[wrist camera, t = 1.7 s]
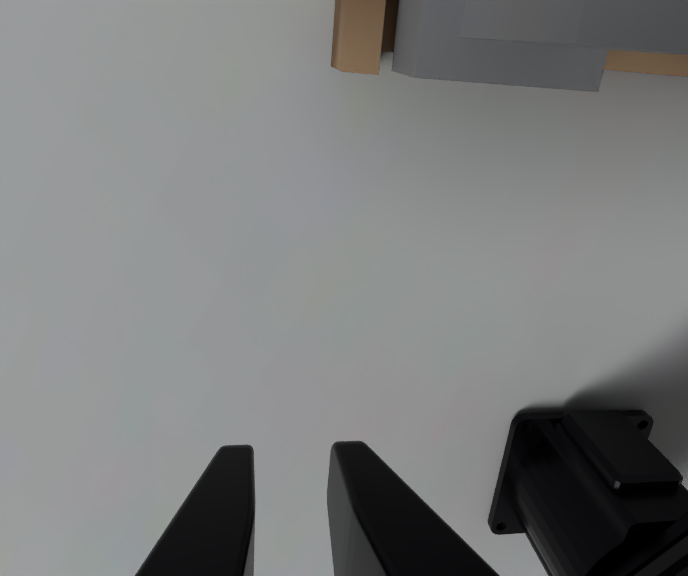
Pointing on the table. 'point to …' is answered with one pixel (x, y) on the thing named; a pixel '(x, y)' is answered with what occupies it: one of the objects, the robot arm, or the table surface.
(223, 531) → the robot arm
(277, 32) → the table surface
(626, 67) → the rail
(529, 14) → the kicker
